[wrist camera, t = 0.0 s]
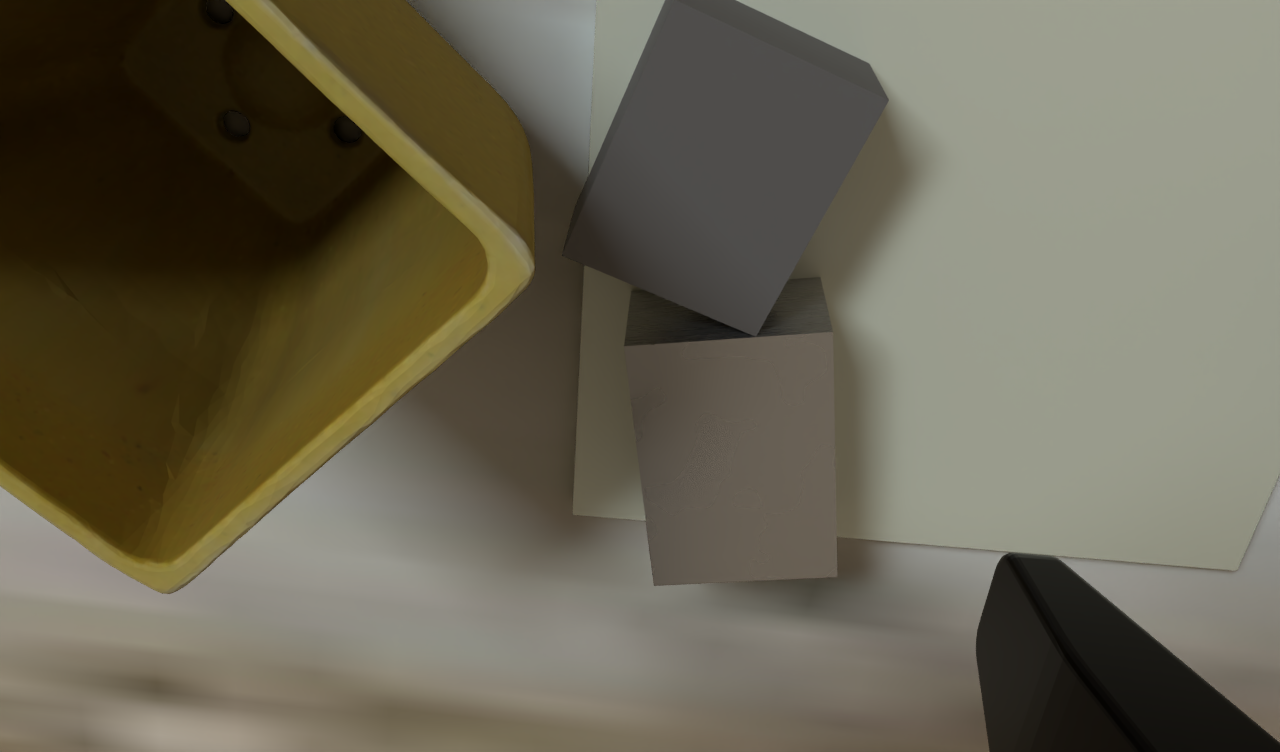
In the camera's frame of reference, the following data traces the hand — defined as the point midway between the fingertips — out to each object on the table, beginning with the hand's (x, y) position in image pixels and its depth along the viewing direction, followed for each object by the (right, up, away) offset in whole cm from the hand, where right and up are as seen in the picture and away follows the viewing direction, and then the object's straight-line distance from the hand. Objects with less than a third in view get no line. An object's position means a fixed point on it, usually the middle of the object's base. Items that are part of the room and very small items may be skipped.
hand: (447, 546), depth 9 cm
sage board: (+8, +4, +14) cm, 17 cm away
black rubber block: (+3, +6, +13) cm, 14 cm away
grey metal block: (+4, +1, +16) cm, 16 cm away
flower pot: (-5, +8, +13) cm, 16 cm away
